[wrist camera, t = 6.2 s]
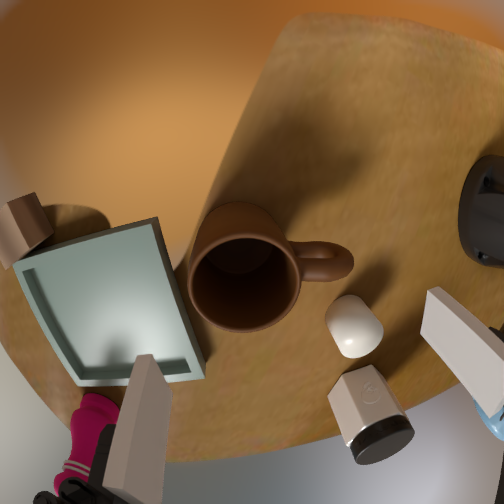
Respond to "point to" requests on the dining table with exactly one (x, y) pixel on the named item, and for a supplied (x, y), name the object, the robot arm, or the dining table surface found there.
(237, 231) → the mug
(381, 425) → the jar
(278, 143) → the dining table surface
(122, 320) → the tray
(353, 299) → the white rounded cylinder
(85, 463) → the pepper mill
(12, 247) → the block
